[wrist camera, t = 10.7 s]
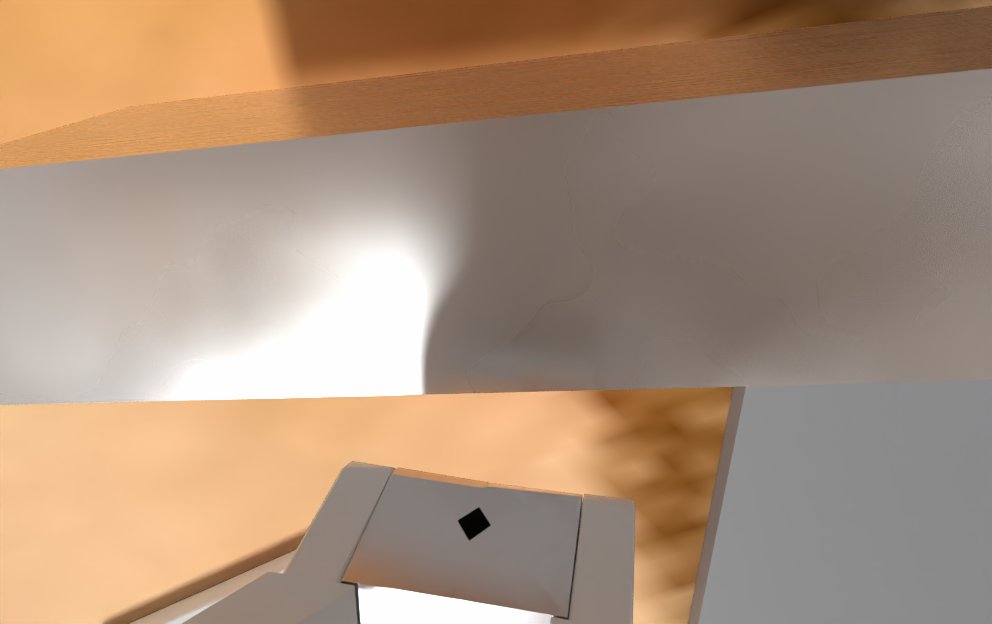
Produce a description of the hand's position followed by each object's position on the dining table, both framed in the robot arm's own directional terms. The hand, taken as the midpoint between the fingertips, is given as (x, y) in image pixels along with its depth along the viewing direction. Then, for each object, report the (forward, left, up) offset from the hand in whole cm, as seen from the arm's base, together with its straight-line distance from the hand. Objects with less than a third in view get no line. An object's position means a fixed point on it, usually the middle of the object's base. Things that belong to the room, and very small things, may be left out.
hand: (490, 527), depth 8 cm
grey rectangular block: (-3, +4, -9) cm, 10 cm away
